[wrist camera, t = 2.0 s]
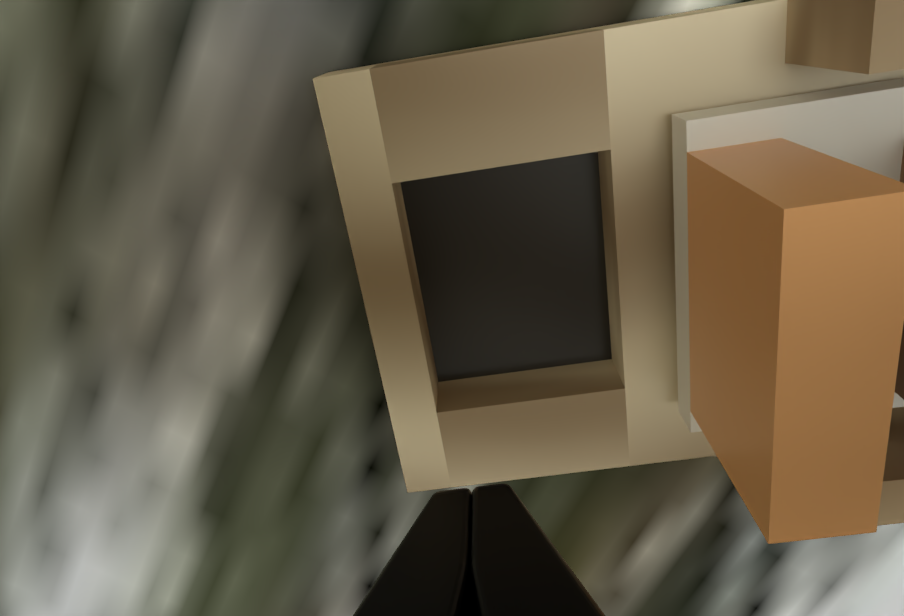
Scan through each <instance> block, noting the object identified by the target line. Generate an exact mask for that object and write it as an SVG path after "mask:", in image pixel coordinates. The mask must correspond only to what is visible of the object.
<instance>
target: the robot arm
mask: <svg viewBox="0 0 904 616" xmlns="http://www.w3.org/2000/svg"><path fill="white" fill-rule="evenodd" d="M353 616H605V615H604V613H603V612H602V611H601V609H600V608H599V607H598V605H597V604H596V603H595V601H594V600H593V598H592V597H591V596H590V594H589V593H588V592H587V590H586V589H585V588H584V586H583V585H582V583H581V582H580V581H579V579H578V578H577V577H576V575H575V574H574V573H573V571H572V570H571V568H570V567H569V566H568V564H567V563H566V562H565V560H564V559H563V557H562V556H561V555H560V553H559V552H558V551H557V549H556V548H555V547H554V545H553V544H552V542H551V541H550V540H549V538H548V537H547V536H546V534H545V533H544V532H543V530H542V529H541V527H540V526H539V525H538V523H537V522H536V521H535V519H534V518H533V517H532V515H531V514H530V512H529V511H528V510H527V508H526V507H525V506H524V504H523V503H522V501H521V500H520V499H519V497H518V496H517V495H516V493H515V492H514V491H513V489H512V488H511V487H510V486H509V485H507V484H496V485H487V486H479V487H476V488H475V489H474V490H473V492H472V493H471V491H470V490H469V489H467V488H462V489H454V490H445V491H439V492H436V493H435V494H433V495H432V497H431V498H430V500H429V501H428V503H427V504H426V506H425V507H424V509H423V510H422V512H421V513H420V515H419V516H418V518H417V519H416V521H415V522H414V524H413V525H412V527H411V529H410V530H409V532H408V533H407V535H406V536H405V538H404V539H403V541H402V542H401V544H400V545H399V547H398V548H397V550H396V551H395V553H394V554H393V556H392V557H391V559H390V560H389V562H388V563H387V565H386V566H385V568H384V569H383V571H382V572H381V574H380V575H379V577H378V578H377V580H376V581H375V583H374V584H373V586H372V588H371V589H370V591H369V592H368V594H367V595H366V597H365V598H364V600H363V601H362V603H361V604H360V606H359V607H358V609H357V610H356V612H355V613H354V615H353Z"/></svg>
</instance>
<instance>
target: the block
mask: <svg viewBox="0 0 904 616" xmlns="http://www.w3.org/2000/svg"><path fill="white" fill-rule="evenodd" d="M900 182H902V183H904V147H903V156H902V164H901V173H900ZM895 393H896V394H898V395H899V396H900V397H901V398H902V399H903V400H904V323H903V330H902V338H901V346H900V353H899V361H898V369H897V376H896V384H895Z"/></svg>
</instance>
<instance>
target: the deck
mask: <svg viewBox="0 0 904 616" xmlns="http://www.w3.org/2000/svg"><path fill="white" fill-rule="evenodd" d="M899 78H904V0H754V1H748V2H742V3H736V4H730V5H724V6H719V7H713V8H707V9H701V10H695V11H689V12H683V13H677V14H671V15H665V16H659V17H653V18H647V19H641V20H635V21H629V22H623V23H618V24H612V25H606V26H600V27H594V28H588V29H582V30H576V31H570V32H564V33H558V34H552V35H546V36H540V37H534V38H528V39H523V40H517V41H511V42H505V43H499V44H493V45H487V46H481V47H475V48H469V49H463V50H457V51H451V52H445V53H439V54H433V55H427V56H422V57H416V58H410V59H404V60H398V61H392V62H386V63H380V64H374V65H368V66H362V67H356V68H350V69H344V70H338V71H332V72H328V73H325V74H323V75H320V76H318V77H315V78H313V83H314V87H315V91H316V96H317V100H318V105H319V109H320V113H321V118H322V122H323V126H324V131H325V135H326V139H327V144H328V148H329V152H330V157H331V161H332V165H333V170H334V174H335V179H336V183H337V187H338V192H339V196H340V200H341V205H342V209H343V213H344V218H345V222H346V226H347V231H348V235H349V240H350V244H351V248H352V253H353V257H354V261H355V266H356V270H357V274H358V279H359V283H360V287H361V292H362V296H363V301H364V305H365V309H366V314H367V318H368V322H369V327H370V331H371V335H372V340H373V344H374V348H375V353H376V357H377V361H378V366H379V370H380V375H381V379H382V383H383V388H384V392H385V396H386V401H387V405H388V409H389V414H390V418H391V422H392V427H393V431H394V436H395V440H396V444H397V449H398V453H399V457H400V462H401V466H402V470H403V475H404V479H405V483H406V488H407V492H408V493H409V492H417V491H425V490H434V489H442V488H450V487H459V486H467V485H475V484H484V483H492V482H500V481H509V480H517V479H525V478H534V477H542V476H550V475H559V474H567V473H575V472H584V471H592V470H600V469H609V468H617V467H625V466H634V465H642V464H650V463H659V462H667V461H675V460H684V459H692V458H700V457H709V456H716V454H715V452H714V450H713V449H712V447H711V445H710V444H709V442H708V440H707V439H706V437H705V435H704V433H703V432H702V431H701V432H693V433H691V432H690V431H689V429H688V427H687V425H686V423H685V422H684V420H683V418H682V416H681V414H680V413H679V411H678V376H677V332H676V287H675V243H674V199H673V155H672V114H677V113H683V112H689V111H696V110H702V109H709V108H715V107H721V106H728V105H734V104H740V103H747V102H753V101H759V100H766V99H772V98H778V97H785V96H791V95H797V94H804V93H810V92H816V91H823V90H829V89H835V88H842V87H848V86H855V85H861V84H867V83H874V82H880V81H886V80H893V79H899ZM896 523H904V407H896V408H892V415H891V422H890V430H889V438H888V446H887V453H886V461H885V469H884V476H883V484H882V492H881V499H880V507H879V515H878V522H877V526H878V525H887V524H896Z"/></svg>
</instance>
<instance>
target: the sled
mask: <svg viewBox="0 0 904 616" xmlns="http://www.w3.org/2000/svg"><path fill="white" fill-rule="evenodd" d="M903 147H904V78H899V79H893V80H886V81H880V82H874V83H867V84H861V85H855V86H848V87H842V88H835V89H829V90H823V91H816V92H810V93H804V94H797V95H791V96H785V97H778V98H772V99H766V100H759V101H753V102H747V103H740V104H734V105H728V106H721V107H715V108H709V109H702V110H696V111H689V112H683V113H677V114H672V155H673V199H674V243H675V287H676V332H677V376H678V411H679V413H680V414H681V416H682V418H683V420H684V422H685V423H686V425H687V427H688V429H689V431H690V432H691V433H693V432H701V431H702V432H703V433H704V435H705V437H706V439H707V440H708V442H709V444H710V445H711V447H712V449H713V450H714V452H715V454H716V456H717V457H718V459H719V461H720V462H721V464H722V466H723V467H724V469H725V471H726V472H727V474H728V476H729V478H730V479H731V481H732V483H733V484H734V486H735V488H736V489H737V491H738V493H739V495H740V496H741V498H742V500H743V501H744V503H745V505H746V506H747V508H748V510H749V512H750V513H751V515H752V517H753V518H754V520H755V522H756V523H757V525H758V527H759V529H760V530H761V532H762V534H763V535H764V537H765V539H766V540H767V542H768V544H772V543H782V542H791V541H800V540H809V539H818V538H827V537H836V536H845V535H854V534H863V533H873V532H876V530H877V522H878V515H879V507H880V499H881V492H882V484H883V476H884V469H885V461H886V453H887V446H888V438H889V430H890V422H891V415H892V408H896V407H904V400H903V399H902V398H901V397H900V396H899V395H898V394H896V393H895V384H896V376H897V369H898V361H899V353H900V346H901V338H902V330H903V323H904V183H902V182H900V173H901V164H902V156H903Z"/></svg>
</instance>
